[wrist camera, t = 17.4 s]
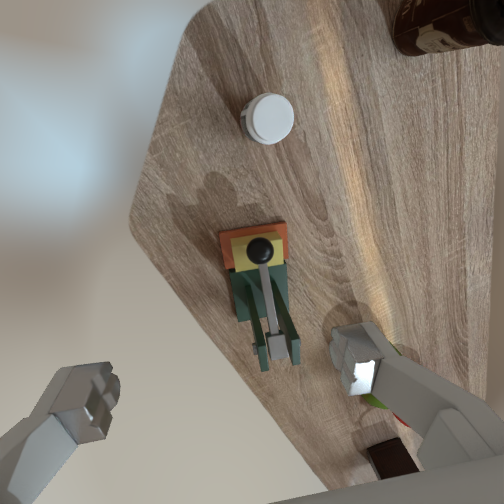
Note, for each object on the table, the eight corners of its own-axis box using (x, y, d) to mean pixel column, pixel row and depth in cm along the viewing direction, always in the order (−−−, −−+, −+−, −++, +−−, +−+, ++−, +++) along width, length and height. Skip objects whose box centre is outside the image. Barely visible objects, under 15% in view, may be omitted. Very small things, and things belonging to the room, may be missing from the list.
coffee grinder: (403, 451, 78) (453, 535, 62) (369, 463, 78) (410, 550, 62) (401, 426, 71) (456, 514, 55) (363, 440, 71) (408, 531, 55)
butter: (218, 231, 37) (219, 242, 33) (285, 221, 38) (292, 230, 34) (225, 266, 40) (226, 280, 36) (287, 256, 40) (294, 268, 37)
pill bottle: (270, 146, 33) (288, 152, 25) (235, 135, 31) (243, 138, 24) (282, 105, 31) (305, 100, 23) (245, 92, 30) (257, 81, 22)
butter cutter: (228, 269, 40) (237, 332, 28) (284, 259, 41) (316, 317, 28) (237, 317, 45) (248, 390, 32) (287, 307, 45) (315, 375, 33)
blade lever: (243, 240, 34) (244, 237, 31) (269, 236, 35) (273, 233, 31) (262, 353, 34) (266, 363, 30) (289, 348, 34) (295, 357, 30)
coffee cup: (447, 60, 31) (585, 23, 20) (383, 79, 31) (485, 53, 20) (456, -38, 27) (637, -156, 16) (383, -17, 27) (510, -120, 16)
